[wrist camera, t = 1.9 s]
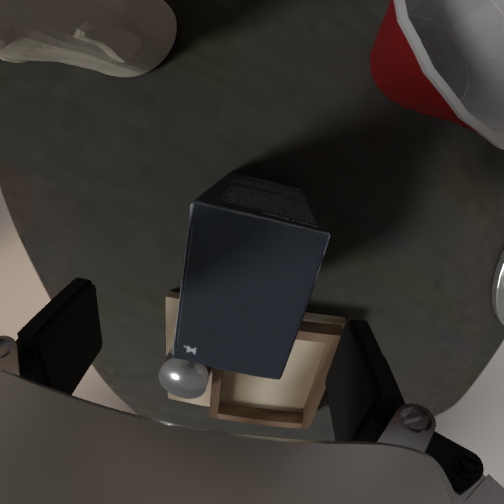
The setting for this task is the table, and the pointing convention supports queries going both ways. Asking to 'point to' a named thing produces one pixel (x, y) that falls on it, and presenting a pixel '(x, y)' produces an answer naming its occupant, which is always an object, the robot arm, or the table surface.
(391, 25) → the plastic cup
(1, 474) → the robot arm
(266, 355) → the box
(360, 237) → the table surface
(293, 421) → the plate
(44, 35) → the vase
